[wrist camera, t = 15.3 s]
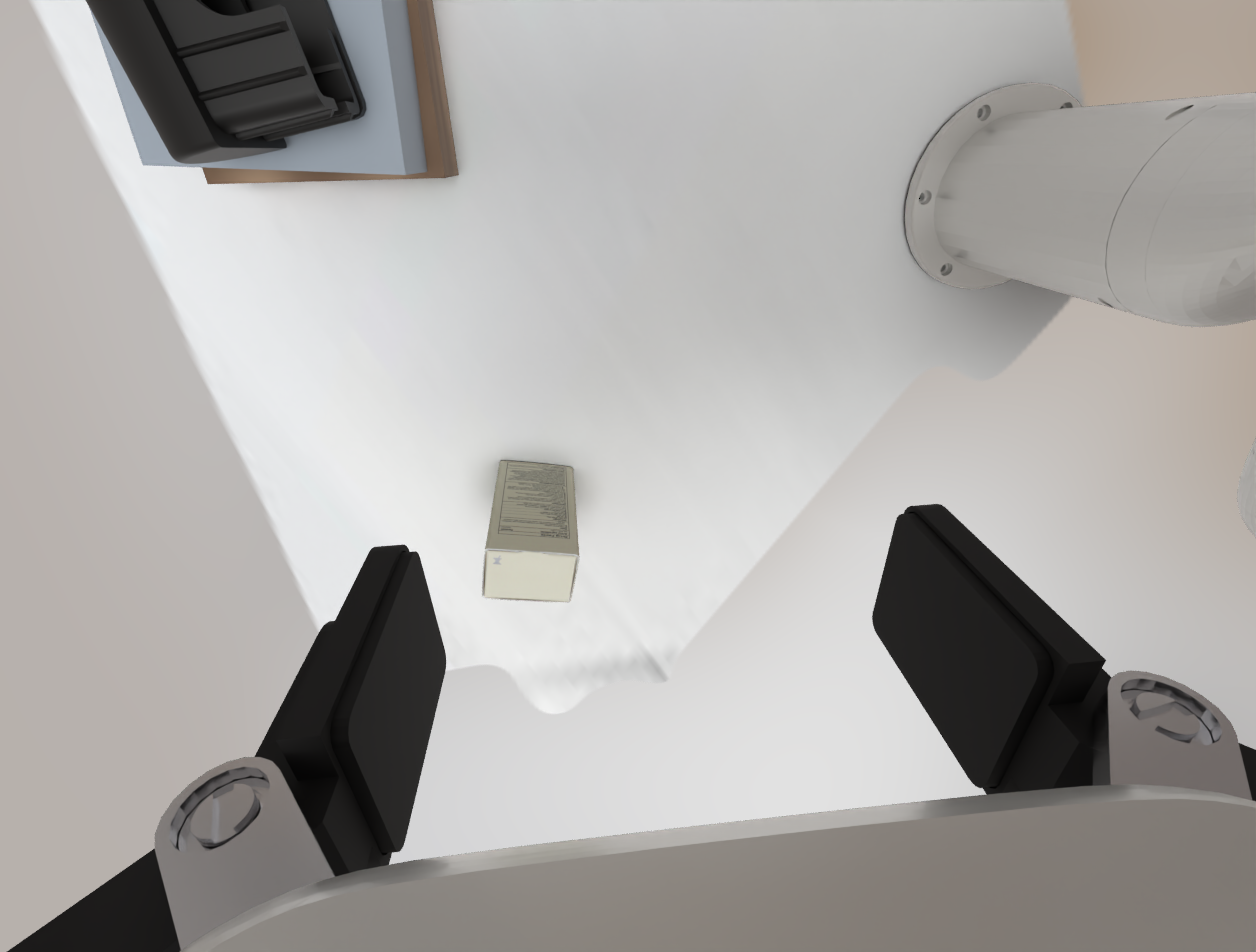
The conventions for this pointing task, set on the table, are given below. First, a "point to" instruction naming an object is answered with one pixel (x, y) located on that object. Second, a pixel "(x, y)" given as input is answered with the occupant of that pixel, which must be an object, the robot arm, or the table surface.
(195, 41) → the end cap
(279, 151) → the slate top block
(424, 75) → the walnut base block
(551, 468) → the skincare box
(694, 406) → the table surface
